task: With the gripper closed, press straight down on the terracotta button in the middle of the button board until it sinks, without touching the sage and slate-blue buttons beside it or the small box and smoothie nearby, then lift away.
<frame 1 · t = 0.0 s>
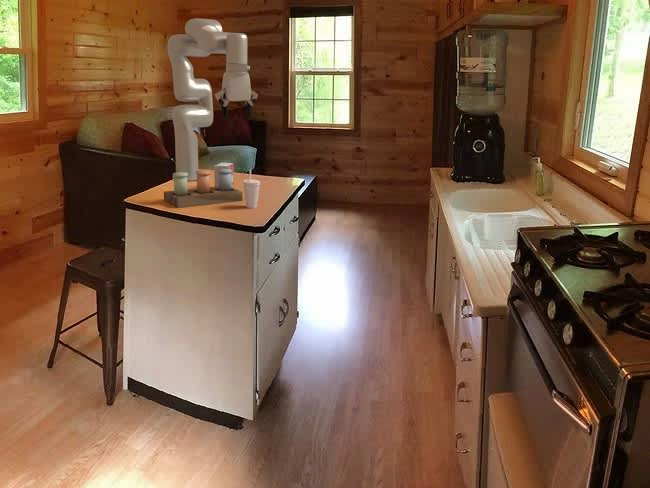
hand: (236, 117, 230), 31 cm above the table, tool pointing down, fingers open, 9 cm apart
terracotta button: (203, 182, 233), point 7 cm above the table, slide at 0.0 cm
slate button: (224, 180, 239), point 7 cm above the table, slide at 0.0 cm
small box: (224, 190, 255), on the table
sage button: (180, 184, 228), point 7 cm above the table, slide at 0.0 cm
button board: (203, 200, 235), on the table
smoothie: (251, 207, 229), on the table
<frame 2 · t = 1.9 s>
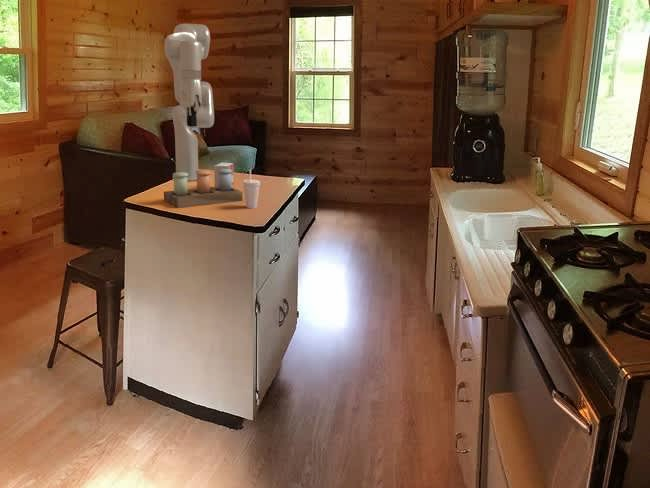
hand: (191, 126, 234), 27 cm above the table, tool pointing down, fingers closed
nothing on the table moved.
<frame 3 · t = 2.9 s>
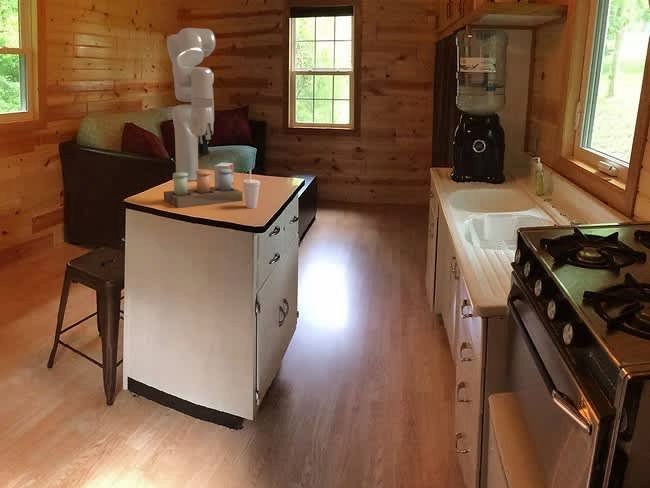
hand: (203, 154, 230), 18 cm above the table, tool pointing down, fingers closed
nothing on the table moved.
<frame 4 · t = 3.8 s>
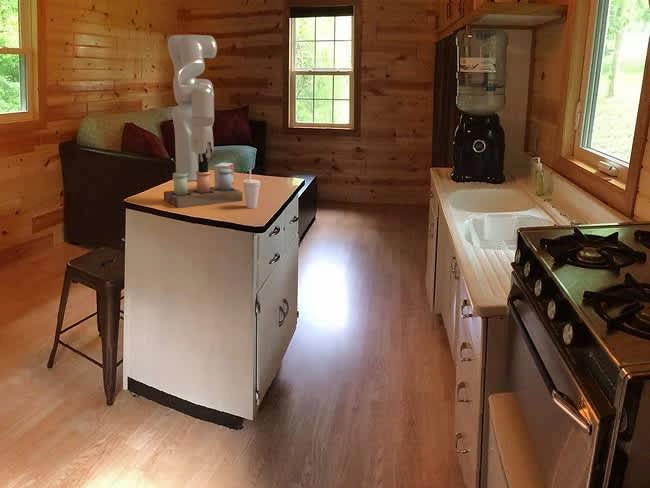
hand: (203, 171, 232), 11 cm above the table, tool pointing down, fingers closed
terracotta button: (203, 182, 233), point 7 cm above the table, slide at 0.0 cm, touching gripper
everything else where it was.
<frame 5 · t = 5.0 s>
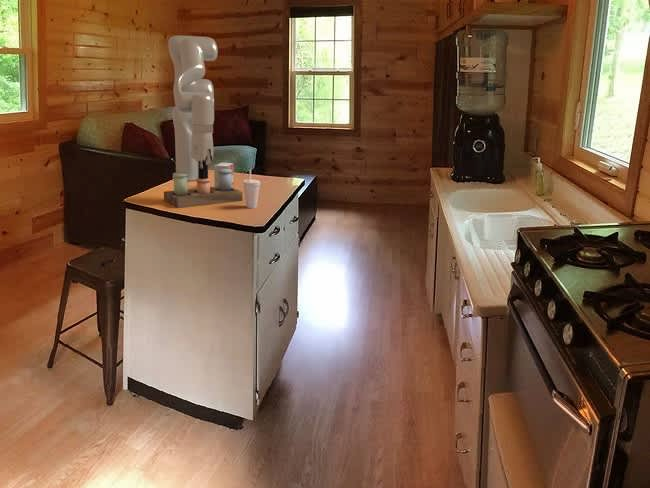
hand: (203, 178, 233), 8 cm above the table, tool pointing down, fingers closed
terracotta button: (203, 189, 234), point 4 cm above the table, slide at 2.6 cm
everything else where it was.
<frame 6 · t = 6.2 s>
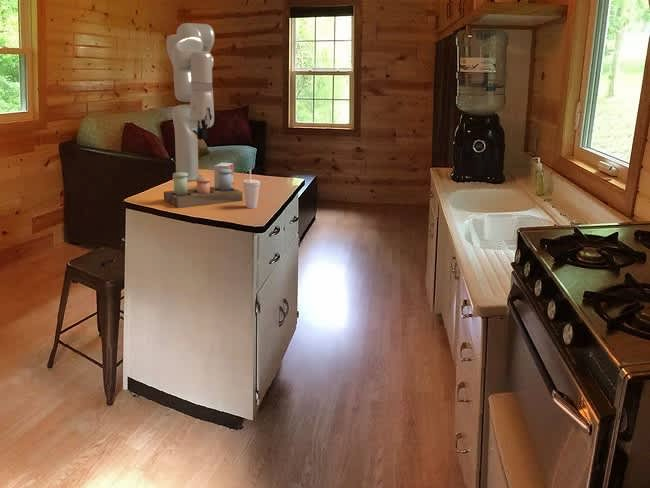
hand: (202, 138, 229), 23 cm above the table, tool pointing down, fingers closed
nothing on the table moved.
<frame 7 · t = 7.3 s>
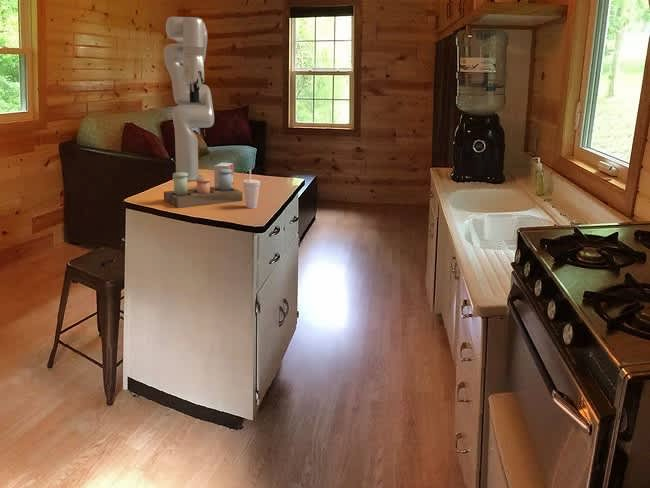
hand: (194, 102, 239), 35 cm above the table, tool pointing down, fingers closed
nothing on the table moved.
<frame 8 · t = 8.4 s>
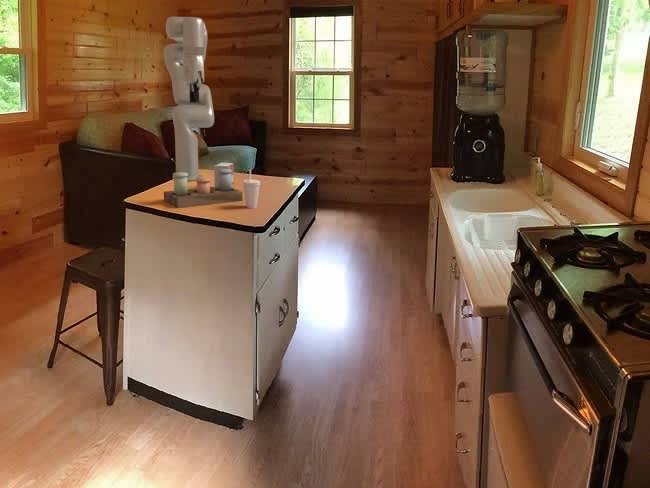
hand: (194, 102, 239), 35 cm above the table, tool pointing down, fingers closed
nothing on the table moved.
at the end: terracotta button slide at 2.6 cm; sage button slide at 0.0 cm; slate button slide at 0.0 cm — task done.
